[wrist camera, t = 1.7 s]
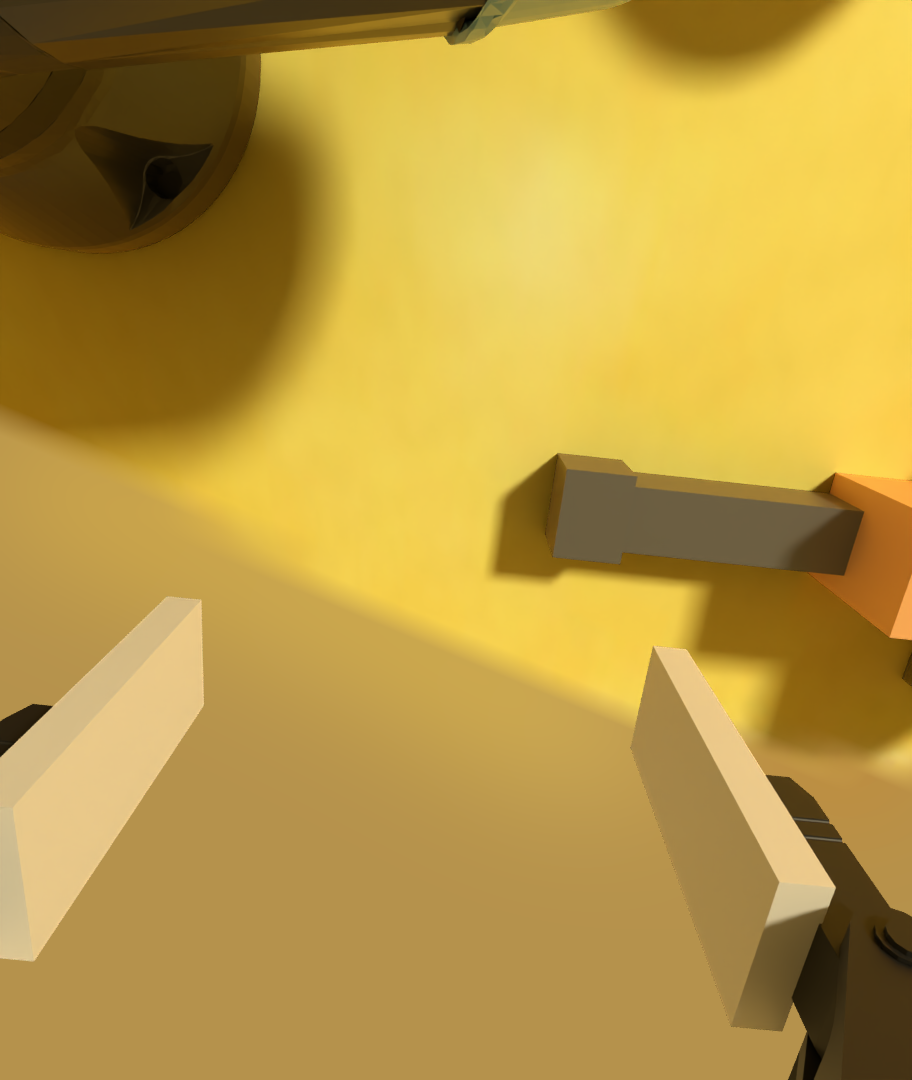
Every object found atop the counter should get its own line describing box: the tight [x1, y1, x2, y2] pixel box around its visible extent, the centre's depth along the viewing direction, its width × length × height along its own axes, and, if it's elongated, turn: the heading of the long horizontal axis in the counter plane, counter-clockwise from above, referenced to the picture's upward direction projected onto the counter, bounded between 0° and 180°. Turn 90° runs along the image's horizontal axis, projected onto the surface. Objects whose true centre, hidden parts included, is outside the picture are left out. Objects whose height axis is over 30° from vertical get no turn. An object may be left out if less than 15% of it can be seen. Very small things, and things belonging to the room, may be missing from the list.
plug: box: [545, 453, 912, 640], centre depth 29 cm, size 5×18×7 cm, turn 84°
